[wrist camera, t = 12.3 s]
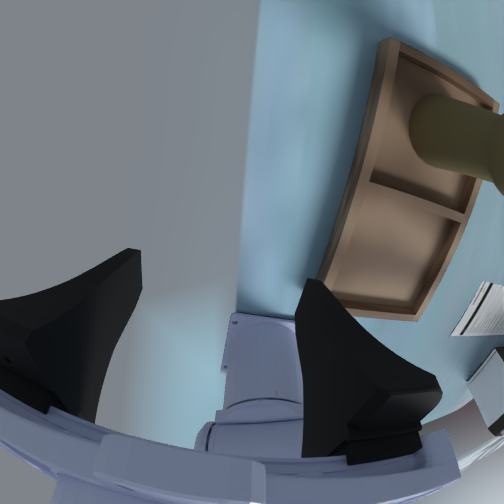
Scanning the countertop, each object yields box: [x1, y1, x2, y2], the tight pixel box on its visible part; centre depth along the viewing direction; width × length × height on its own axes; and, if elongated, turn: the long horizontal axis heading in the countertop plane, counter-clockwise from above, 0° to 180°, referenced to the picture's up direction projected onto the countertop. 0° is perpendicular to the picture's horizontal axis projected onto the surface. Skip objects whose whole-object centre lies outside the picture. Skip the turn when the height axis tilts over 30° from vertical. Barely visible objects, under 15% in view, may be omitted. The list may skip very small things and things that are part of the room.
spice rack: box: [316, 37, 499, 322], centre depth 19 cm, size 22×12×2 cm, turn 170°
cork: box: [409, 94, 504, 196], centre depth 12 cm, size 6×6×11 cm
